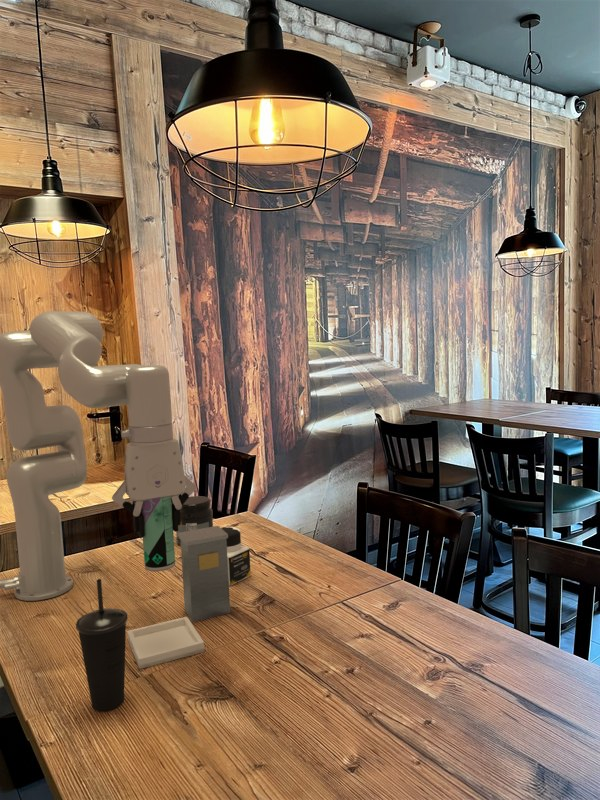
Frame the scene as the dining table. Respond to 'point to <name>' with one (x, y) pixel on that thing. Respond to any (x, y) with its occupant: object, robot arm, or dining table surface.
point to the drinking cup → (104, 654)
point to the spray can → (158, 533)
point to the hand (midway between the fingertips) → (157, 531)
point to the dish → (164, 642)
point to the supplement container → (195, 515)
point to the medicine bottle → (236, 556)
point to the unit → (205, 573)
